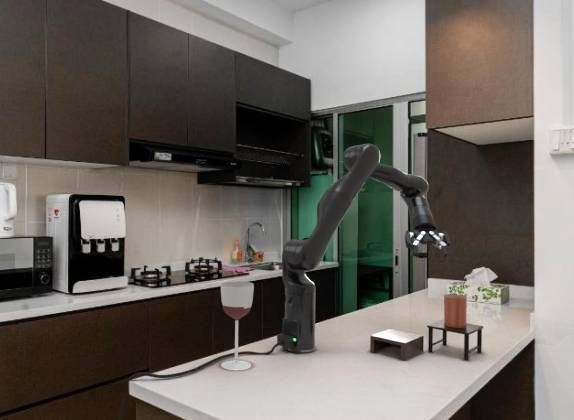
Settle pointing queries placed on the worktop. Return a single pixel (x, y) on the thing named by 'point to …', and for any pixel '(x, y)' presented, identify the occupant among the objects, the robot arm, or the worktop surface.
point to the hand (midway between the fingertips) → (431, 256)
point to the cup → (455, 310)
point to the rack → (466, 331)
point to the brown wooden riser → (398, 342)
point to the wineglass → (236, 313)
